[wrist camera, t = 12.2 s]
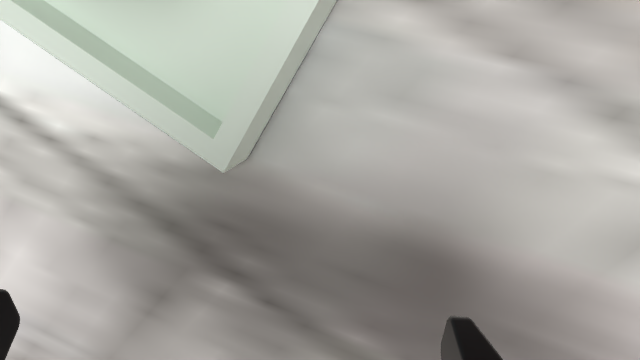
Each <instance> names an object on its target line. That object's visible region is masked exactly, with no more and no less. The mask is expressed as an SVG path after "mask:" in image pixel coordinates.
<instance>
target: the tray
mask: <svg viewBox="0 0 640 360" xmlns="http://www.w3.org/2000/svg"><path fill="white" fill-rule="evenodd" d="M336 1H337V0H0V20H1V21H3V22H4V23H6V24H7V25H9V26H10V27H12V28H13V29H15V30H16V31H17V32H19V33H20V34H22V35H23V36H25V37H26V38H28V39H29V40H31V41H32V42H33V43H35V44H36V45H38V46H39V47H41V48H42V49H44V50H45V51H46V52H48V53H49V54H51V55H52V56H54V57H55V58H57V59H58V60H60V61H61V62H62V63H64V64H65V65H67V66H68V67H70V68H71V69H73V70H74V71H76V72H77V73H78V74H80V75H81V76H83V77H84V78H86V79H87V80H89V81H90V82H92V83H93V84H94V85H96V86H97V87H99V88H100V89H102V90H103V91H105V92H106V93H107V94H109V95H110V96H112V97H113V98H115V99H116V100H118V101H119V102H121V103H122V104H123V105H125V106H126V107H128V108H129V109H131V110H132V111H134V112H135V113H137V114H138V115H139V116H141V117H142V118H144V119H145V120H147V121H148V122H150V123H151V124H153V125H154V126H155V127H157V128H158V129H160V130H161V131H163V132H164V133H166V134H167V135H168V136H170V137H171V138H173V139H174V140H176V141H177V142H179V143H180V144H182V145H183V146H184V147H186V148H187V149H189V150H190V151H192V152H193V153H195V154H196V155H198V156H199V157H200V158H202V159H203V160H205V161H206V162H208V163H209V164H211V165H212V166H214V167H215V168H216V169H218V170H219V171H221V172H222V173H224V172H226V171H228V170H229V169H231V168H233V167H234V166H236V165H237V164H239V163H241V162H242V161H244V160H246V159H247V158H248V156H249V155H250V153H251V151H252V149H253V147H254V146H255V144H256V142H257V140H258V139H259V137H260V135H261V133H262V132H263V130H264V128H265V126H266V125H267V123H268V121H269V119H270V118H271V116H272V114H273V112H274V110H275V109H276V107H277V105H278V103H279V102H280V100H281V98H282V96H283V95H284V93H285V91H286V89H287V88H288V86H289V84H290V82H291V81H292V79H293V77H294V75H295V74H296V72H297V70H298V68H299V66H300V65H301V63H302V61H303V59H304V58H305V56H306V54H307V52H308V51H309V49H310V47H311V45H312V44H313V42H314V40H315V38H316V37H317V35H318V33H319V31H320V29H321V28H322V26H323V24H324V22H325V21H326V19H327V17H328V15H329V14H330V12H331V10H332V8H333V7H334V5H335V3H336Z"/></svg>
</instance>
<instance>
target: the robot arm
mask: <svg viewBox="0 0 640 360" xmlns="http://www.w3.org/2000/svg"><path fill="white" fill-rule="evenodd" d="M19 324H20V316H19V313H18V311H17V309H16V307H15V305H14V303H13V301H12V299H11V296H10V294H9V293H8V292H7V291H6V290H3V289H0V360H5V358H6V356H7V354H8V351H9V349H10V347H11V344H12V342H13V339H14V337H15V335H16V332H17V330H18V327H19ZM441 360H503V359H502V358H501V356H500V355H499V354H498V353H497V351H496V350H495V349H494V348H493V346H492V345H491V344H490V342H489V341H488V340H487V339H486V337H485V336H484V335H483V333H482V332H481V331H480V330H479V328H478V327H477V326H476V325H475V323H474V322H473V321H472V320H471V319H470V318H468V317H459V316H450V317H449V318H448V320H447V323H446V327H445V330H444V334H443V338H442V342H441Z"/></svg>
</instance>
